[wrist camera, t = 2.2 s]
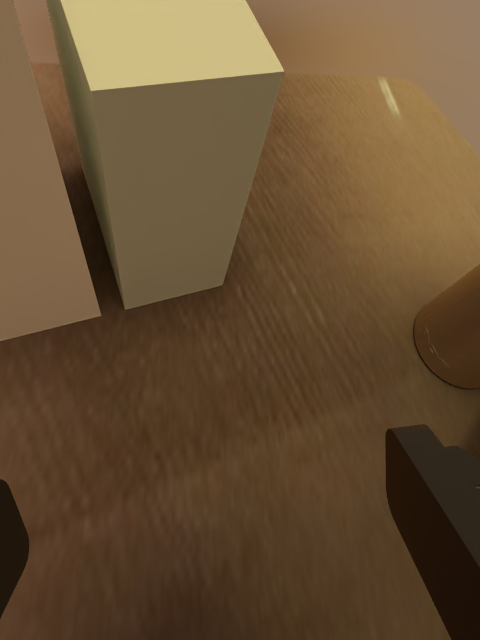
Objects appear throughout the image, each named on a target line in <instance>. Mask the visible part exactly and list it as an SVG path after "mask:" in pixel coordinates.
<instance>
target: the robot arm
mask: <svg viewBox="0 0 480 640" xmlns="http://www.w3.org/2000/svg"><path fill="white" fill-rule="evenodd" d="M414 338H415V342H416V346H417V349H418V351H419V353H420V356H421V357H422V359H423V360H424V362H425V363H426V365H427V366H428V367H429V368H430V369H431V370H432V371H433V373H435V374H436V375H437V376H438V377H440V378H441V379H442V380H444V381H446V382H448V383H450V384H452V385H454V386H457V387H461V388H468V389H474V388H480V264H479V265H478V266H477V267H475V268H474V269H473V270H471V271H470V272H469V273H467V274H466V275H465V276H464V277H462V278H461V279H460V280H458V281H457V282H456V283H454V284H453V285H452V286H450V287H449V288H448V289H446V290H445V291H444V292H442V293H441V294H440V295H439V296H437V297H436V298H435V299H433V300H432V301H431V302H429V303H428V304H427V305H426V306H424V308H423V309H422V310H421V311H420V312H419V314H418V316H417V318H416V321H415V325H414ZM386 492H387V498H388V503H389V507H390V510H391V513H392V516H393V519H394V521H395V523H396V525H397V527H398V529H399V532H400V534H401V536H402V538H403V540H404V542H405V544H406V546H407V548H408V550H409V552H410V554H411V556H412V559H413V561H414V563H415V565H416V567H417V569H418V571H419V573H420V575H421V577H422V579H423V581H424V583H425V586H426V588H427V590H428V592H429V594H430V596H431V598H432V600H433V602H434V604H435V606H436V608H437V610H438V613H439V615H440V617H441V619H442V621H443V623H444V625H445V627H446V629H447V631H448V633H449V635H450V638H451V640H480V460H479V459H478V458H476V457H475V456H473V455H471V454H470V453H468V452H466V451H465V450H463V449H462V448H460V447H458V446H454V447H446V448H444V446H443V445H442V444H441V442H440V441H439V440H438V439H437V437H436V436H435V435H434V433H433V432H432V431H431V430H430V428H429V427H428V426H426V425H424V424H422V425H415V426H407V427H399V428H392V429H388V430H387V432H386ZM28 554H29V538H28V534H27V531H26V528H25V526H24V523H23V521H22V518H21V516H20V513H19V510H18V508H17V505H16V503H15V500H14V498H13V495H12V493H11V490H10V488H9V486H8V484H7V483H6V482H5V481H4V480H1V479H0V618H1V616H2V614H3V612H4V610H5V608H6V605H7V603H8V601H9V599H10V597H11V595H12V593H13V591H14V589H15V587H16V585H17V583H18V581H19V579H20V577H21V574H22V572H23V570H24V568H25V566H26V563H27V559H28Z"/></svg>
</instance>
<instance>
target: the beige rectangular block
mask: <svg viewBox="0 0 480 640" xmlns="http://www.w3.org/2000/svg"><path fill="white" fill-rule="evenodd" d="M46 2H47V7H48V12H49V16H50V21H51V26H52V30H53V35H54V39H55V44H56V49H57V53H58V58H59V63H60V67H61V72H62V77H63V81H64V86H65V90H66V95H67V100H68V104H69V109H70V114H71V118H72V123H73V128H74V132H75V137H76V141H77V146H78V151H79V155H80V160H81V165H82V169H83V172H84V175H85V179H86V182H87V185H88V189H89V192H90V195H91V199H92V202H93V205H94V209H95V212H96V215H97V218H98V222H99V225H100V228H101V232H102V235H103V238H104V242H105V245H106V248H107V252H108V255H109V258H110V262H111V265H112V268H113V272H114V275H115V278H116V281H117V285H118V288H119V291H120V295H121V298H122V301H123V305H124V308H125V310H127V309H131V308H135V307H139V306H143V305H147V304H151V303H155V302H159V301H163V300H166V299H170V298H174V297H178V296H182V295H186V294H190V293H194V292H198V291H202V290H206V289H210V288H214V287H218V286H222V285H223V282H224V279H225V275H226V272H227V268H228V265H229V262H230V258H231V255H232V251H233V248H234V244H235V241H236V237H237V234H238V230H239V227H240V224H241V220H242V217H243V213H244V210H245V206H246V203H247V199H248V196H249V192H250V189H251V186H252V182H253V179H254V175H255V172H256V168H257V165H258V161H259V158H260V155H261V151H262V148H263V144H264V141H265V137H266V134H267V130H268V127H269V123H270V120H271V117H272V113H273V110H274V106H275V103H276V99H277V96H278V92H279V89H280V85H281V82H282V79H283V75H284V70H283V68H282V66H281V64H280V62H279V60H278V59H277V57H276V55H275V53H274V51H273V50H272V48H271V46H270V44H269V42H268V40H267V39H266V37H265V35H264V33H263V32H262V30H261V28H260V26H259V24H258V22H257V21H256V19H255V17H254V15H253V13H252V11H251V10H250V8H249V6H248V4H247V2H246V1H245V0H46Z"/></svg>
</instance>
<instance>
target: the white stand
mask: <svg viewBox="0 0 480 640" xmlns="http://www.w3.org/2000/svg"><path fill="white" fill-rule="evenodd" d="M99 316H101V312H100V309H99V305H98V301H97V298H96V294H95V291H94V287H93V284H92V280H91V276H90V273H89V269H88V266H87V262H86V259H85V255H84V251H83V248H82V244H81V241H80V237H79V234H78V230H77V226H76V223H75V219H74V216H73V212H72V209H71V205H70V201H69V198H68V194H67V191H66V187H65V184H64V180H63V176H62V173H61V169H60V166H59V162H58V159H57V155H56V151H55V148H54V144H53V141H52V137H51V134H50V130H49V127H48V123H47V119H46V116H45V112H44V109H43V105H42V102H41V98H40V94H39V91H38V87H37V84H36V80H35V77H34V73H33V69H32V66H31V62H30V59H29V55H28V52H27V48H26V44H25V41H24V37H23V34H22V30H21V27H20V23H19V20H18V16H17V12H16V9H15V5H14V2H13V0H0V341H3V340H7V339H11V338H15V337H19V336H23V335H27V334H31V333H35V332H39V331H43V330H47V329H51V328H55V327H59V326H63V325H67V324H71V323H75V322H79V321H83V320H87V319H91V318H95V317H99Z"/></svg>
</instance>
